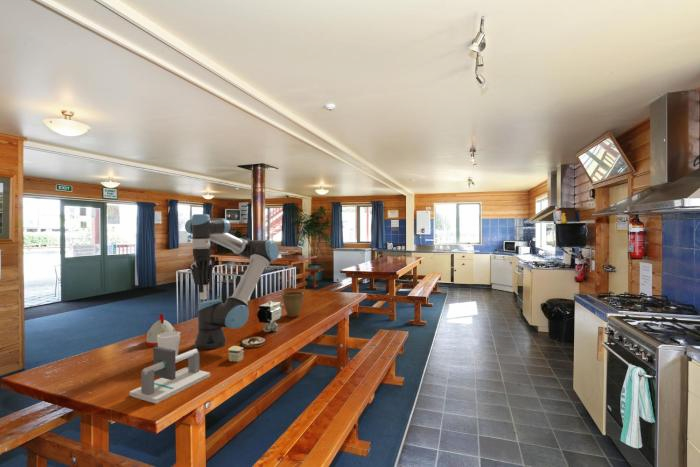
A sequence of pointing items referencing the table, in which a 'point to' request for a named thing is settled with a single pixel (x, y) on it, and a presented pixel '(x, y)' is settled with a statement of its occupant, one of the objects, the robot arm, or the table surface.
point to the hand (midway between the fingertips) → (203, 298)
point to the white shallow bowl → (253, 342)
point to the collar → (167, 356)
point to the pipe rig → (166, 387)
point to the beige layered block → (235, 353)
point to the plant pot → (293, 302)
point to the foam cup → (169, 340)
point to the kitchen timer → (158, 330)
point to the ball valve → (270, 315)
